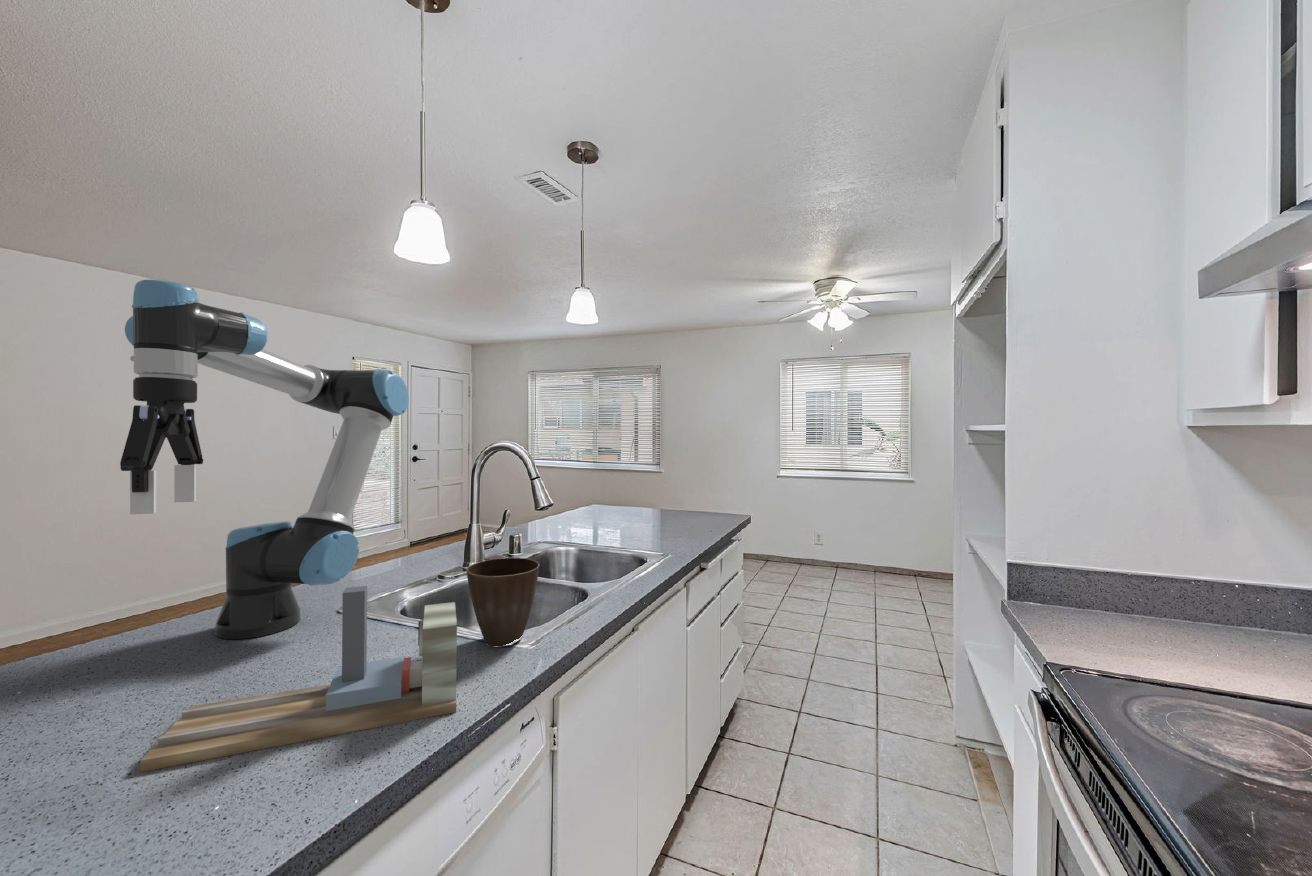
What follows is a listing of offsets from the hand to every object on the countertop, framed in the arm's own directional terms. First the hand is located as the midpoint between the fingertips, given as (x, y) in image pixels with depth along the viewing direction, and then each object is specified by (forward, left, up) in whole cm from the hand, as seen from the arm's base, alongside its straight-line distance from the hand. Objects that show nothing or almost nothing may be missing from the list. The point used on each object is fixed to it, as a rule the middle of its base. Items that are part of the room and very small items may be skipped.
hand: (166, 507), depth 83 cm
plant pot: (-4, +54, -32) cm, 63 cm away
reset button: (+15, +40, -29) cm, 52 cm away
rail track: (+15, +25, -32) cm, 43 cm away
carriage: (+15, +31, -29) cm, 45 cm away
